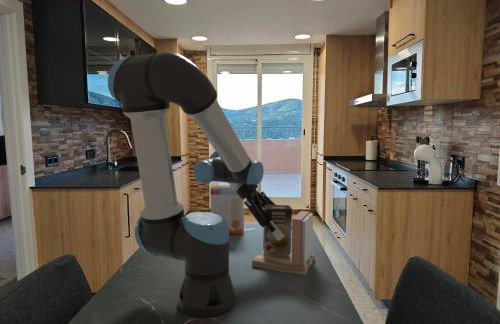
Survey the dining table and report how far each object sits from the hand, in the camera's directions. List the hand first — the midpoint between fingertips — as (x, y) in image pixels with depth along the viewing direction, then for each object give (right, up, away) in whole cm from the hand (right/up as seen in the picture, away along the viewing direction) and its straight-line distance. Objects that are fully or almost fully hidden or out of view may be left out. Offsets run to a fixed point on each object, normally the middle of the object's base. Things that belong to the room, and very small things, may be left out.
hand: (285, 234), depth 115 cm
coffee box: (-3, -7, +2) cm, 8 cm away
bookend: (+5, -8, -2) cm, 10 cm away
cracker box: (-22, -7, +34) cm, 41 cm away
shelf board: (-1, -10, +1) cm, 10 cm away
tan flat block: (+5, -8, -1) cm, 9 cm away
